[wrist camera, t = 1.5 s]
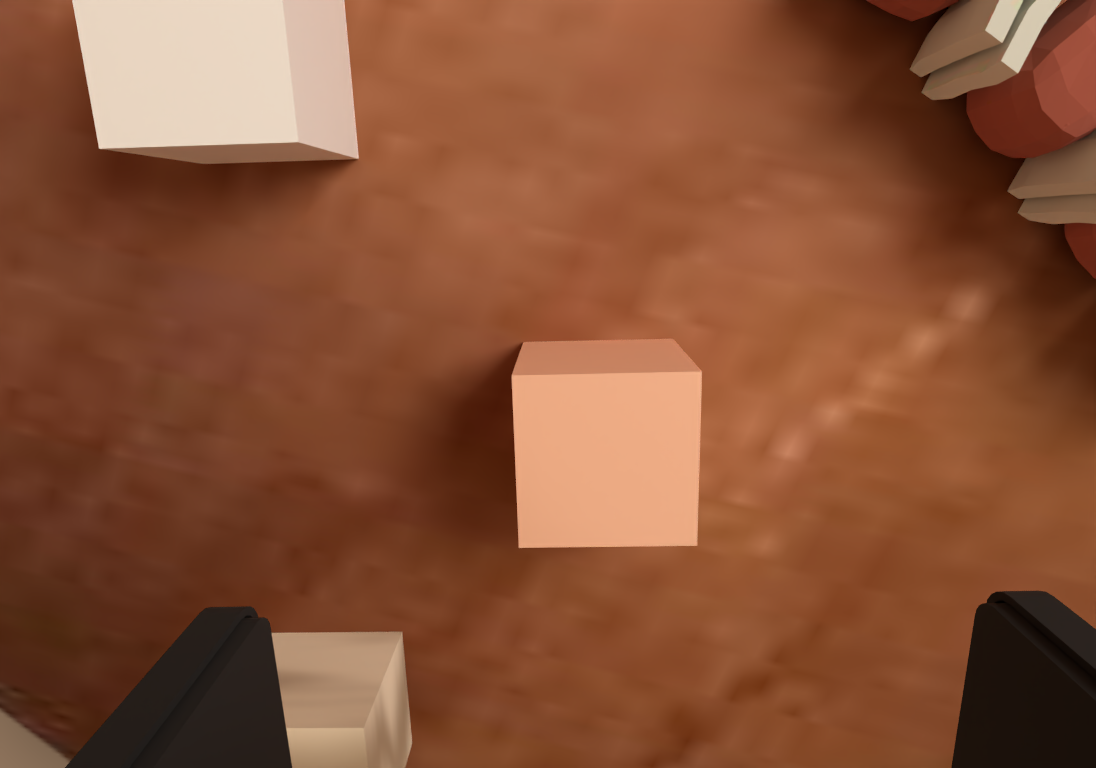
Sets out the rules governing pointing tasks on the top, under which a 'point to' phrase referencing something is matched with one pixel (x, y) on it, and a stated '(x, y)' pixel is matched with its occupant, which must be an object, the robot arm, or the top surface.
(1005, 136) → the skewer
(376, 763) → the birch block
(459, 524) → the top surface
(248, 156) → the cream block
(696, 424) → the terracotta block
